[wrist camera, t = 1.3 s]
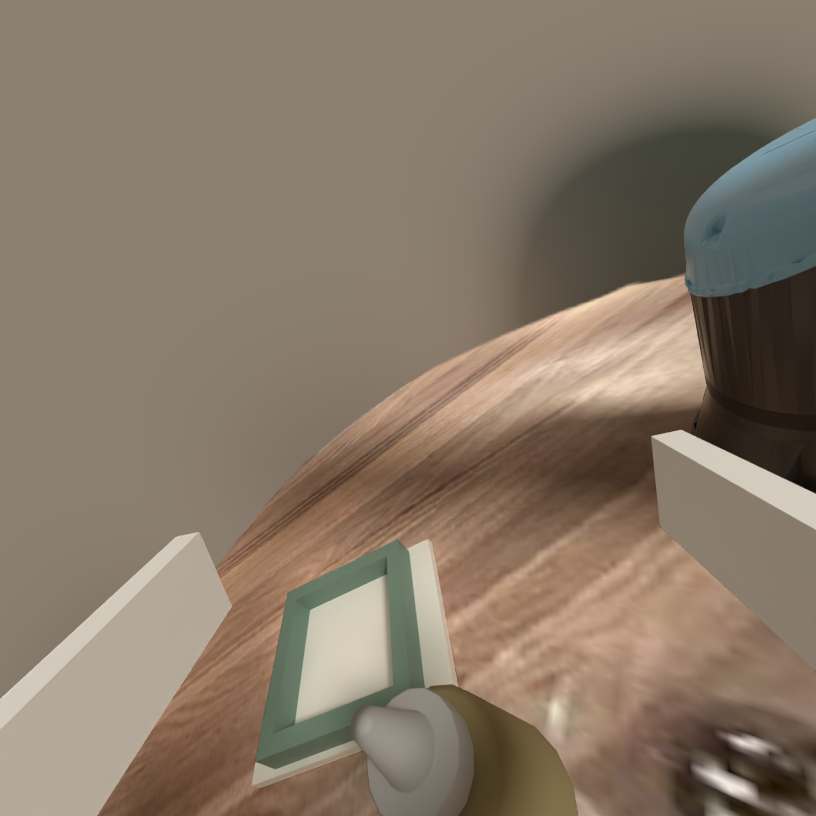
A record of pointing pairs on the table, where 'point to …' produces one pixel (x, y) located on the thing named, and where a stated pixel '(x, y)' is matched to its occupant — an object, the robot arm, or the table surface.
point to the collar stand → (351, 655)
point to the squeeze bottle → (458, 758)
